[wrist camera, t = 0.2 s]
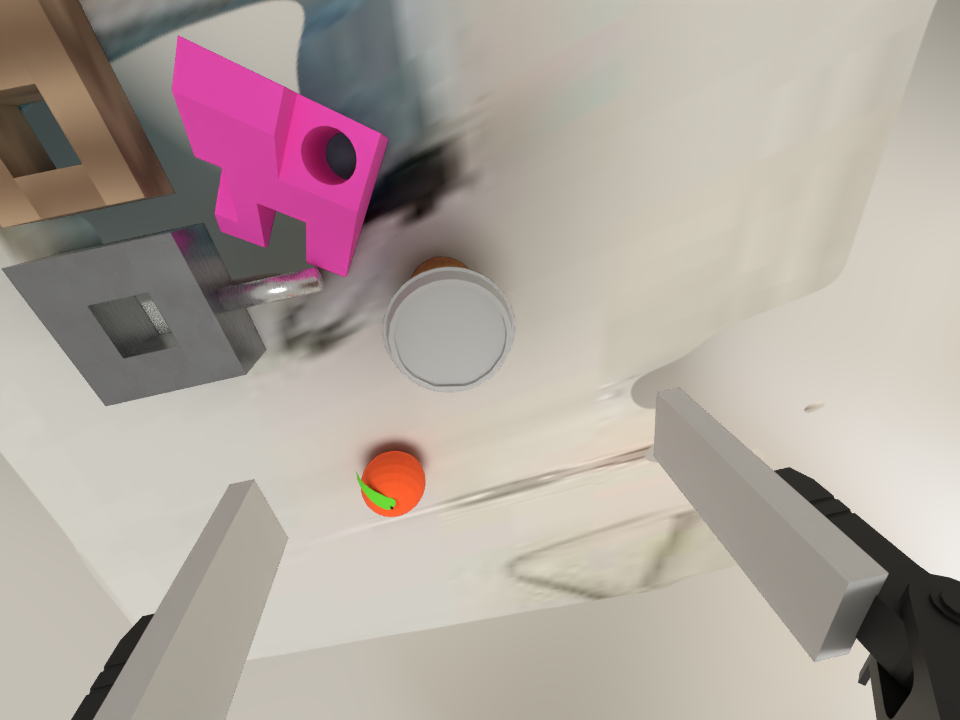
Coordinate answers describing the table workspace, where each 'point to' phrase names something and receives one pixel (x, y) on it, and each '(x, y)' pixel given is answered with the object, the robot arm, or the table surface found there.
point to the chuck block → (126, 327)
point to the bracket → (275, 155)
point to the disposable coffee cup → (448, 327)
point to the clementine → (392, 483)
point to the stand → (66, 119)
